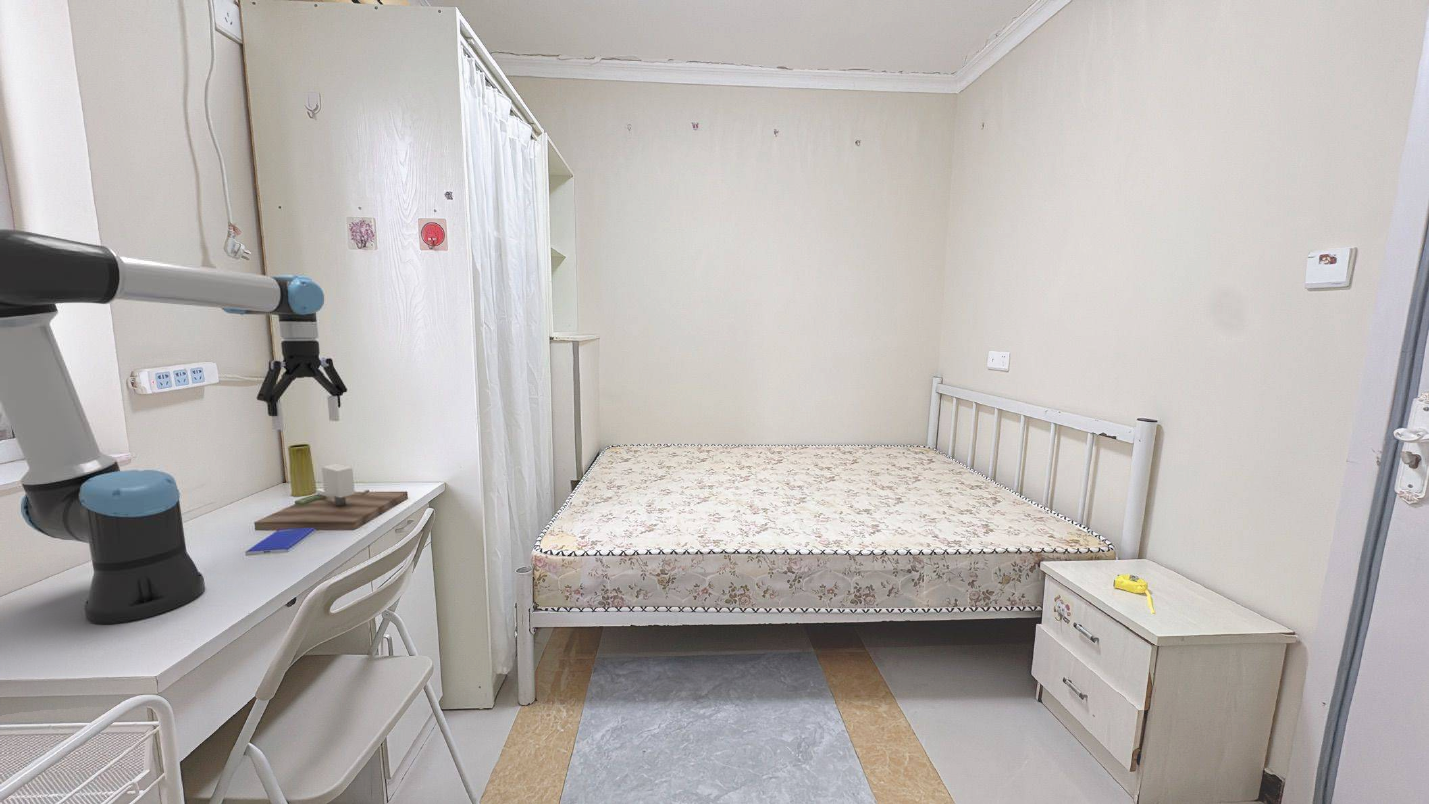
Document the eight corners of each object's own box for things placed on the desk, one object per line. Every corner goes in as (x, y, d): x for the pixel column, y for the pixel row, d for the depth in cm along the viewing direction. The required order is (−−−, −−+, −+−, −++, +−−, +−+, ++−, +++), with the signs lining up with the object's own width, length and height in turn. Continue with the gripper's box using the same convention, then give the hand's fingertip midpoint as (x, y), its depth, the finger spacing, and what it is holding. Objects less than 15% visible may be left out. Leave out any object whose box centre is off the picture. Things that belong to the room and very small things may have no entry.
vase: (309, 489, 168) (304, 442, 166) (321, 491, 166) (316, 444, 164) (286, 494, 163) (281, 446, 161) (298, 497, 160) (293, 448, 158)
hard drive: (276, 529, 133) (244, 550, 121) (315, 527, 135) (287, 547, 123) (277, 536, 133) (245, 557, 121) (316, 533, 135) (288, 554, 123)
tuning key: (356, 505, 147) (352, 467, 145) (341, 509, 144) (337, 471, 142) (326, 495, 155) (322, 460, 153) (311, 499, 152) (307, 463, 150)
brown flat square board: (354, 529, 136) (353, 517, 135) (255, 530, 136) (253, 518, 135) (407, 498, 159) (407, 488, 159) (323, 498, 159) (322, 488, 159)
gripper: (338, 338, 151) (345, 416, 154) (231, 340, 128) (241, 432, 131) (358, 339, 148) (364, 418, 151) (253, 340, 125) (262, 434, 128)
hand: (307, 424), depth 141 cm, fingers open, 13 cm apart
